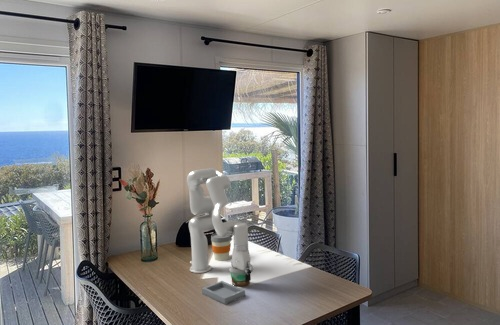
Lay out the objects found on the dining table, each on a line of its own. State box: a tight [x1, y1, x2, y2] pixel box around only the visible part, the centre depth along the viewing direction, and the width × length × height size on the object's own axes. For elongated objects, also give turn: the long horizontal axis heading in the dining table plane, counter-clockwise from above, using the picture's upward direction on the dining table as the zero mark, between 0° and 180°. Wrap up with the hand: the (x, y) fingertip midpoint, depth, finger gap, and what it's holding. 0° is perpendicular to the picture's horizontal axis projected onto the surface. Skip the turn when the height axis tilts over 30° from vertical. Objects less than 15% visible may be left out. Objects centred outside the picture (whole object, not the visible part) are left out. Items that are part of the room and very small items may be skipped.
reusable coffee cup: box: [210, 232, 232, 262], centre depth 258 cm, size 13×13×15 cm
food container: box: [228, 266, 251, 288], centre depth 215 cm, size 12×6×10 cm, turn 106°
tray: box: [201, 280, 246, 306], centre depth 204 cm, size 18×13×3 cm
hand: (242, 278), depth 215 cm, fingers open, 8 cm apart
